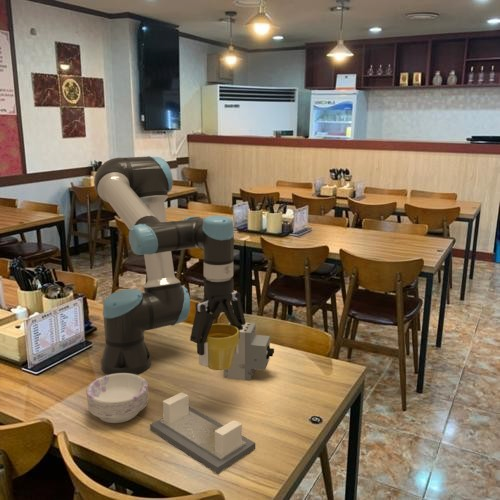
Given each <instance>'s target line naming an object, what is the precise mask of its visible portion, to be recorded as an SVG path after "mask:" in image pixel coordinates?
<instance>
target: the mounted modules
mask: <svg viewBox="0 0 500 500" xmlns="http://www.w3.org/2000/svg"><path fill="white" fill-rule="evenodd" d="M162 413H163V414H162V415H163V417H162V418H164V420H165V421H167V422H168V423H172V422H174V421H175V420H177V419H179V418H181V417H183V416H185V415H187V414H189V395H187V394H186V393H184V392H179V393H177V394H175V395H173V396H171V397H168V398H167V399H164V400H162ZM223 425H224V426H222V427H221V428H219V429H217V430H216V431H215V451H216V452H218V453H219V454H221V455H225V454H226V453H228V452H229V451H231V450H233V449H234V448H236V447H237V446H239V445H240V444H242V436H243V433H242V432H243V431H242V429H243V426H242V425H243V424H242V423H241V422H238V421H236V420H235V419H234V420H231V421H230V422H228V423H226V424H223Z"/></svg>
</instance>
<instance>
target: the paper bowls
mask: <svg viewBox="0 0 500 500" xmlns="http://www.w3.org/2000/svg"><path fill="white" fill-rule="evenodd" d="M86 398H87V402H86V403H87V409H88V411H89V413H90V414H92V415H93V416H94V417H96V418H99V419H100V420H101V421H103V422H105V423H108V424H109V423H110V424H120V423H125V422H128V421H130V420H132V419H134V418H135V417H136V416H137V415H138V414H139V413H140V411H142V410H144V409H145V407H146V406H147V404H148V402H149V384H148V381H147V380H146V379H145V378H144V377H142V375H141V376H140V375H138V374H130V373H116V374H110V375H108V374H106V375H103V376H100V377H99V378H97V379H95V380H94V381H92V382H91V383H89V385H88V387H87V390H86Z"/></svg>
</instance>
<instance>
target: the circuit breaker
mask: <svg viewBox="0 0 500 500" xmlns="http://www.w3.org/2000/svg"><path fill="white" fill-rule="evenodd" d="M228 324H229V325H231V324H230V322H229V321H228ZM242 326H243V329H242V330H240V338H239V343H238V353H237V354H236V353H234V357H233V361H232V365H231V367H230V368H228V369H226V370H222V371H223V378H224V379H225V378H227V379H231V380H232V379H234V380H243V381H251V380H252V378H253V375H254V373H255V371H256V370H262V371H265V370H267V368H268V367H267V366H268V364H269V362H270V360H271V359H270V357H273V356H274V354H275V353H274V352H275V348H271V345H270V344H271V337H270V335H261V334H257V331H256V328H257V327H256V322H246V323H245V325H242Z"/></svg>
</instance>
